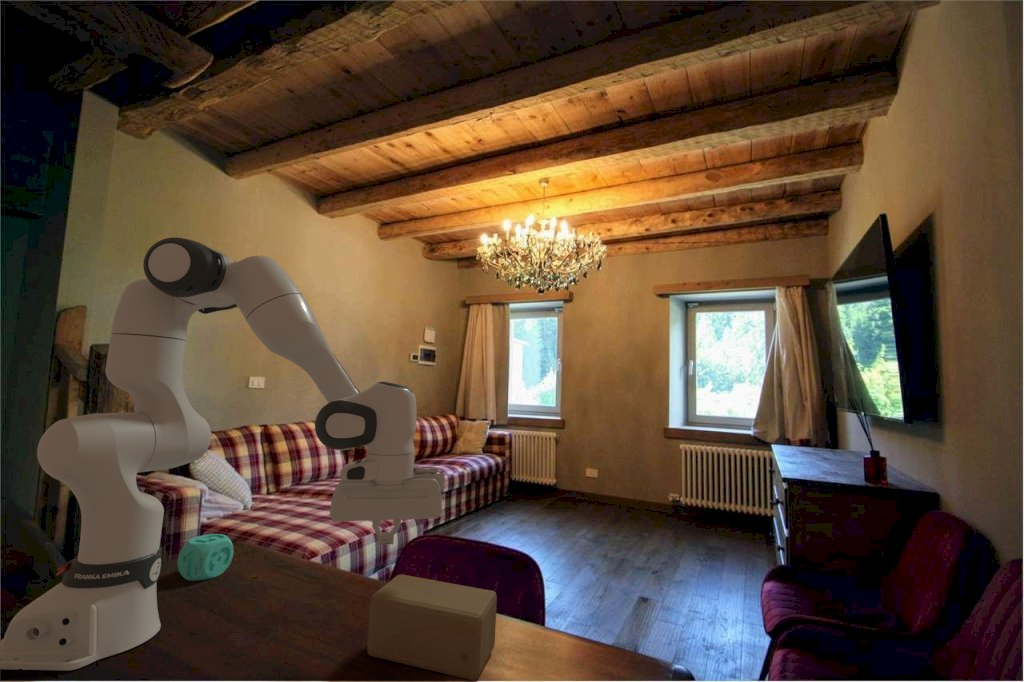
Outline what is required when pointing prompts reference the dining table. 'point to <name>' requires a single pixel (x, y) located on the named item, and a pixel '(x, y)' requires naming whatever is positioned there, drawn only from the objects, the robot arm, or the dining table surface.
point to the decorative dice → (205, 557)
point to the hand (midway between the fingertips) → (385, 543)
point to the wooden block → (433, 625)
